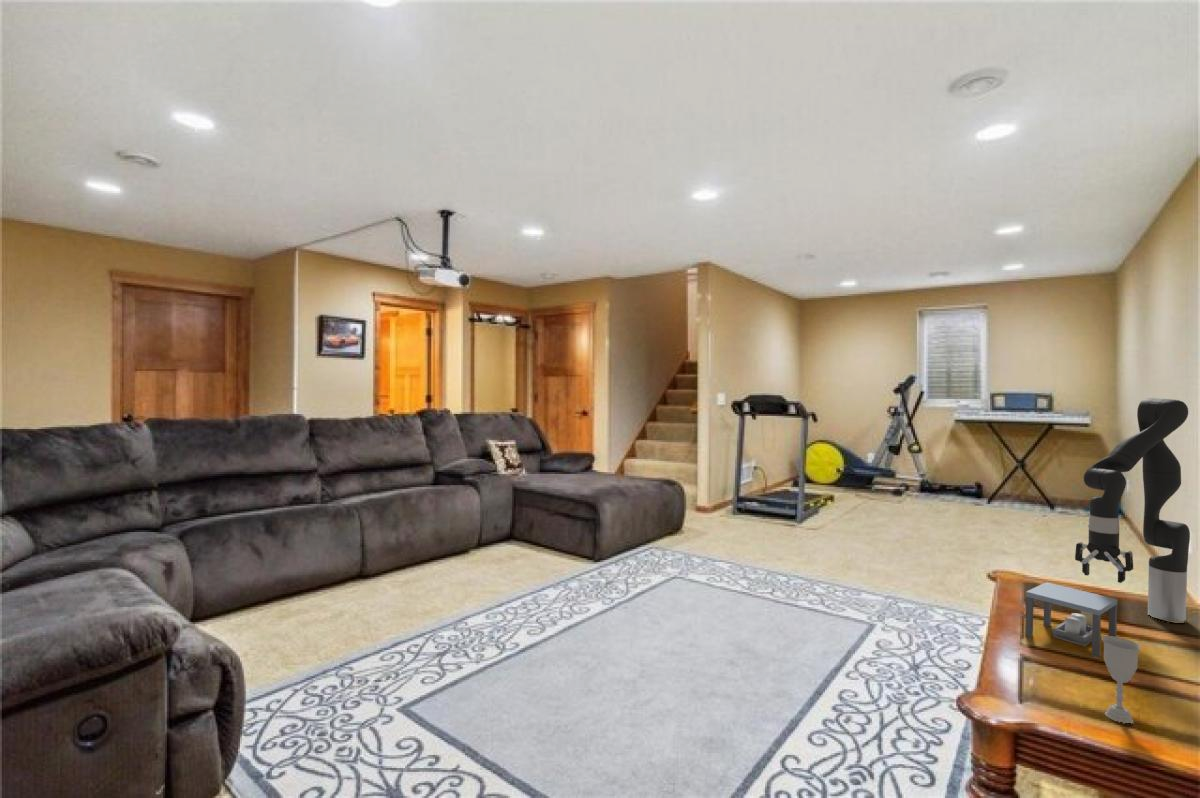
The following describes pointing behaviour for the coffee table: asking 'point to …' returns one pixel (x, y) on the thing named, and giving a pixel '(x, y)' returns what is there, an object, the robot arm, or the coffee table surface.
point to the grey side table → (1075, 601)
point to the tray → (1071, 636)
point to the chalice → (1120, 671)
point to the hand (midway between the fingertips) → (1103, 578)
